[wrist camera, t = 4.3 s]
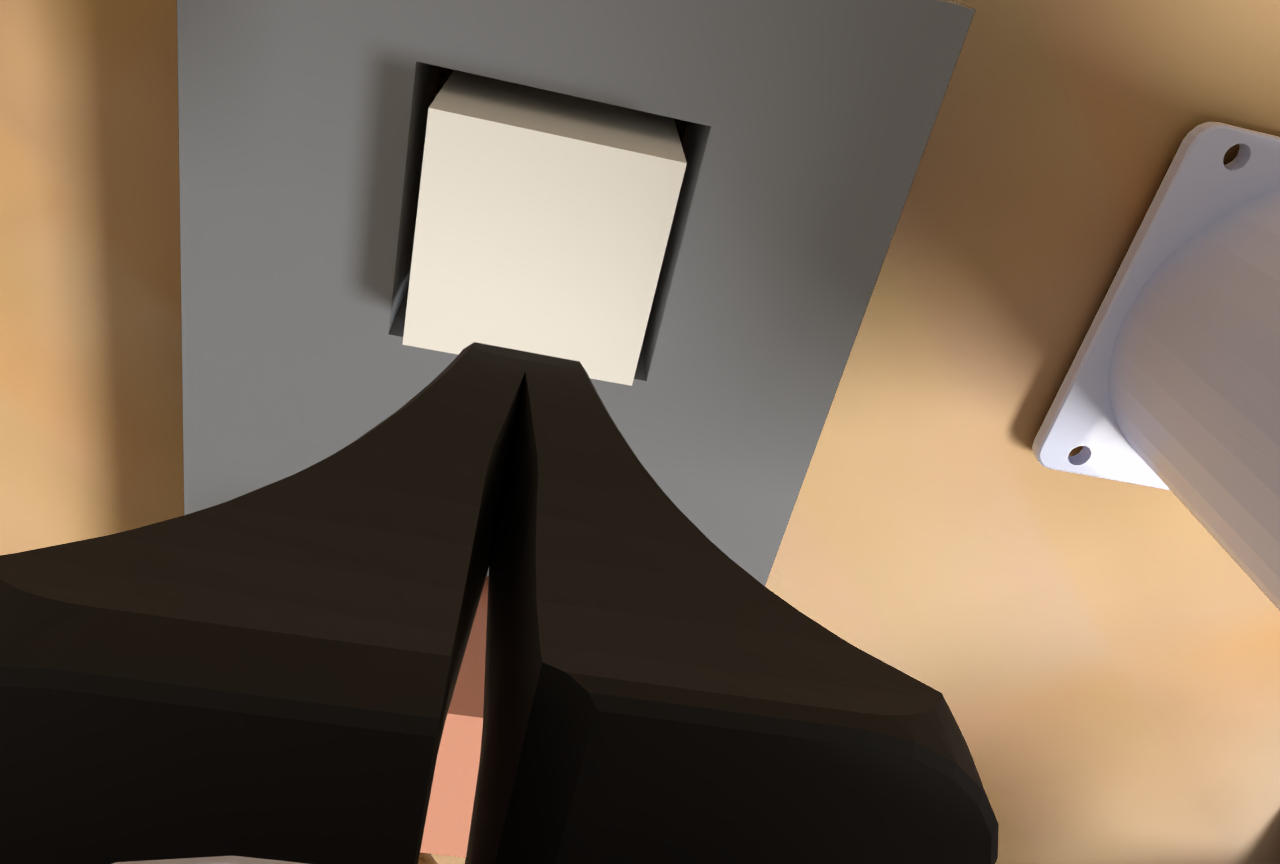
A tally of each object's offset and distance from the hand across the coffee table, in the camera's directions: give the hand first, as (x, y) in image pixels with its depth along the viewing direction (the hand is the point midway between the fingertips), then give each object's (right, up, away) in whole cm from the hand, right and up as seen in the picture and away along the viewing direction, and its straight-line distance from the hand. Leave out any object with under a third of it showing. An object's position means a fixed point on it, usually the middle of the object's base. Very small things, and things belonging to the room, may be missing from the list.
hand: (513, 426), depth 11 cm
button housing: (-1, +1, +11) cm, 11 cm away
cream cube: (0, +5, +8) cm, 9 cm away
